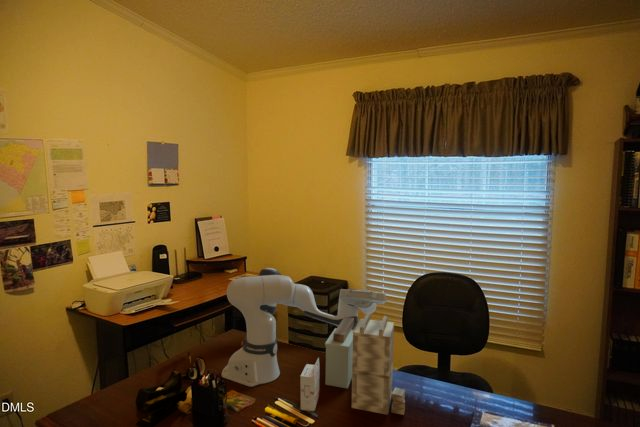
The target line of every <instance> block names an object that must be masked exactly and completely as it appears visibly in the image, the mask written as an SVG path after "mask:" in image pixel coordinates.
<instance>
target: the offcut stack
mask: <svg viewBox="0 0 640 427" xmlns="http://www.w3.org/2000/svg"><path fill="white" fill-rule="evenodd" d="M405 397H406V389H402V388H399V387H394V389H392V395H391V400H392V401H391V402H392V403H391V413H393V414H397V415H402V416H405V411H406V410H405V409H406V399H405Z"/></svg>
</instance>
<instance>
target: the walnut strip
mask: <svg viewBox="0 0 640 427" xmlns="http://www.w3.org/2000/svg"><path fill="white" fill-rule="evenodd" d="M353 326H354V318H350V317H344V318H343V320H342V321H341V323H340V324H339V326H336V327H337V329H336V330H335V332H334V333H333V341H335V342H342V343H344V341H345V340H346V338H347V336H348V334H349V333H350V331H351V329H352V327H353Z"/></svg>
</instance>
